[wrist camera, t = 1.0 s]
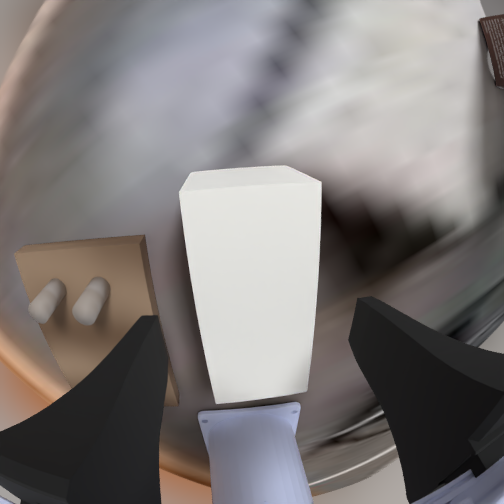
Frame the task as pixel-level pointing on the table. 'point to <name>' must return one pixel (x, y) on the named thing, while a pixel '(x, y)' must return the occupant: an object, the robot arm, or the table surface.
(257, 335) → the white rectangular block
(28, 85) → the table surface
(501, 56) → the box
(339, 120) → the table surface
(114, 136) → the table surface
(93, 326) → the peg board
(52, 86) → the table surface
